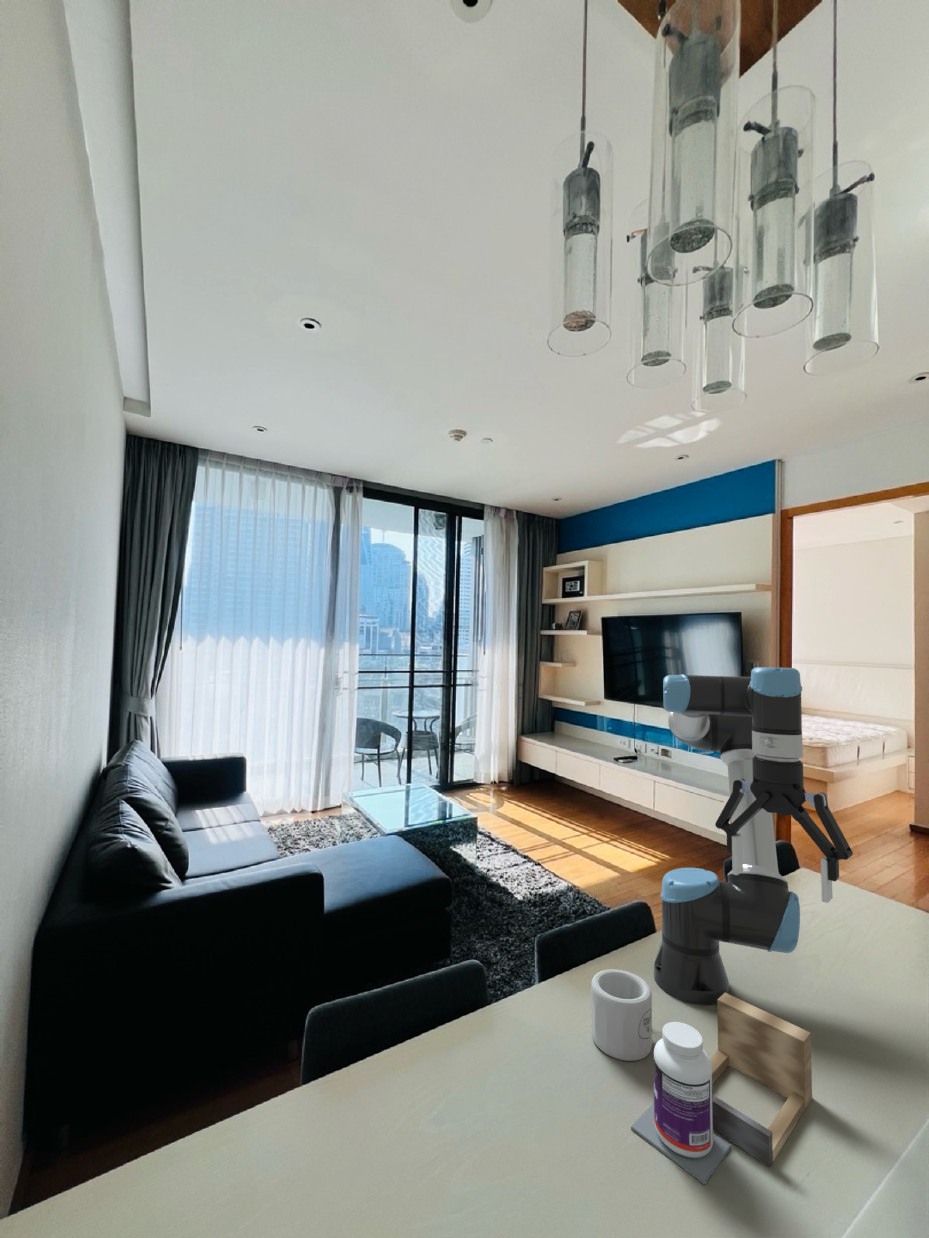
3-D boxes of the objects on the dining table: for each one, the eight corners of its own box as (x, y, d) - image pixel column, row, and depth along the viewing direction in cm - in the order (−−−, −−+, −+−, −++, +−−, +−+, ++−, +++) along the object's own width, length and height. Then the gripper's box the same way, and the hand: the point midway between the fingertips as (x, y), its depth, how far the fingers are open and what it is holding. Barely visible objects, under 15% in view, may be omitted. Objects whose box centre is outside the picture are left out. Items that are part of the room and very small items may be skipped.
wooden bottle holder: (676, 1104, 84) (675, 1037, 85) (725, 1050, 96) (725, 992, 97) (769, 1167, 74) (768, 1090, 75) (812, 1097, 86) (810, 1032, 87)
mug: (635, 1072, 91) (634, 1011, 91) (580, 1040, 98) (580, 983, 99) (668, 1033, 100) (667, 978, 101) (615, 1007, 108) (615, 955, 109)
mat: (630, 1128, 80) (630, 1126, 80) (659, 1099, 85) (659, 1096, 85) (704, 1184, 71) (704, 1181, 72) (730, 1147, 77) (730, 1144, 77)
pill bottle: (665, 1104, 84) (664, 1008, 85) (720, 1134, 79) (718, 1031, 80) (645, 1139, 78) (645, 1035, 79) (704, 1174, 72) (702, 1062, 73)
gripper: (695, 749, 98) (696, 867, 97) (859, 772, 79) (864, 920, 78) (713, 745, 103) (714, 858, 102) (872, 766, 84) (877, 905, 83)
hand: (780, 885), depth 90 cm, fingers open, 13 cm apart
